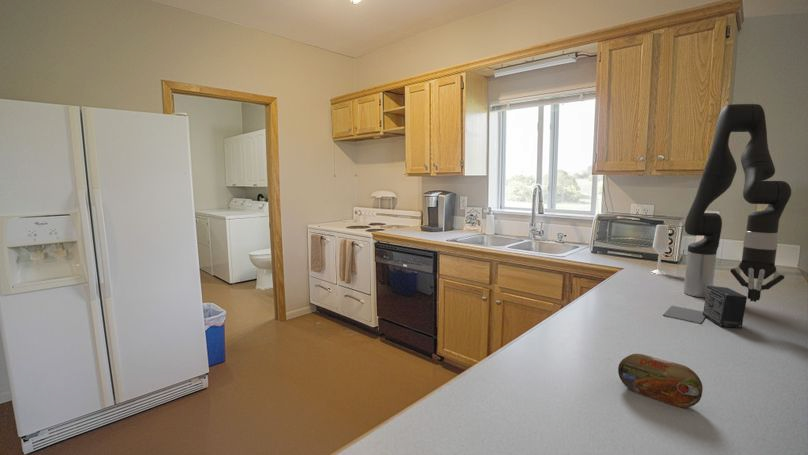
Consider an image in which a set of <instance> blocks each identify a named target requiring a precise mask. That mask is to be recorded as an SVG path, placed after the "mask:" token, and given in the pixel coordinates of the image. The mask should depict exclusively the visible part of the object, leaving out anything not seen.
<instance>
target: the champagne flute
mask: <svg viewBox="0 0 808 455" xmlns="http://www.w3.org/2000/svg"><path fill="white" fill-rule="evenodd" d="M653 236H654V238H653V242H652V249H653V251H654V252H655V253H656V254H657V255H658V256H657V257H658V258H657V266H656V268H657V269H655V270H651V272H653V273H656V274H655V275H658V274H665V272H664V271H663V270H661V262H662V255H663V254H665V253H666V252H667V251H669V249H670V248H669V247H670V246H669V245H670V243H669V242H670V241H669V237H670V236H669V225H668V224H656V226H655V232H654V235H653ZM653 273H652V274H653Z"/></svg>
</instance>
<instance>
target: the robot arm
mask: <svg viewBox="0 0 808 455" xmlns="http://www.w3.org/2000/svg"><path fill="white" fill-rule="evenodd" d="M765 114H766V113H765V110H764V108H763V106H762V105H761V104H757V103H736V104H735V103H734V104H727V105H725V106H724V107H723V108H722V109H721V111H720V113H719V116H718V119H717V121H716V122H717V123H716V126H715V132H714V135H713V140H712V145H711V148H710V150H709V151H710V152H709V155H708V158H707V160H706V163H705V165H704V168H703V171H702V175H701V177H700V183H699V186H698V188H697V191H696V194H695V196H694V200H693V201H692V204H691V206H690V208H689V211H688V213H687V215H686V218H685V221H684V231H685V233H686V234H687V235H688V236H689V235H690V236H698V237H699V236H701V237H703V238H702V239H700V240H698V241H696V242H692V243H690V244H689V245H688V246H687V252H686V253H687V254H686V255H687V256H686V263H685V264H686V265H685V273H684V286H683V293H684V294H686V295H689V296H692V297H698V298H706V293H707V286H714V282H715V281H714V280H715V270H716V261H717V251H718V249H719V246H720V240H721V239H720V238H721V234H722V229H723V221H722V220H723V219H722V216H721V215H720V213H716V212H706V210H707V209H708V207H709V206H710V205H711V204H712V203H713V202H714V201H715V200H716V199H718V198H719V197H721V196H722V195H723V194H724V193H725V192H726V191H727V190H729V188H730V187H731V186H732V184H733V182H734V178H735V176H736V173H737V170H738V169H737V164H736V161H735V158H734V156H733V154H732V152H731V149H730V146H729V140H730V136H731V133H748V134H749V135H750V139H749V141H748V142H747V144H746V145H745V147H744V149H743V150H742V152H741V155H740V163H741V166H742V170H743V174H744V185H743V190H742V197H743V199H744V200H745V201H746V202H747V203H749V204H751V205H767V207H766V208H765V209H763V210H761V211H753V212H751V213H749V214H748V215H747V220H746V221H747V223H746V231H745V235H744V239H743V243H742V244H743V246H742V248H743V249H742V254H741V255H742V256H741V262H740V263H739V265H738V266H736V267H732V268H730V272H729V273H731V274H732V276H734V278H735V279H736V280H737V282H738V283H739V285H741V286H742V287H745V288H746V289H748V290H747V300H749V301H750V302H755V303H756V302H757V301H760V299H761V294H762V293H761V292H762V291H764V290H770V289H771V288H773V287H774V286H775V285H777V284H778V283H780V282H781V281H782V280H784V279H785V274H783V273H781V272H780V271H778V270H777V267H776V258H777V257H776V256H777V248H778V243H779V242H778V240H779V239H778V232H779V225H780V224H779V223H780V220H781V219H780V218H781V216H782V215H783V212H784V210H785V209H786V207H787V204H788V202H789V201H790V198H791V195H792V188H791V186H790V184H789V183H788V182H786V181H783V180H769V179H771V178H772V177H774V175H775V174H776V168H775V164H774V161H773V159H772V157H771V153H770V149H769V144H768V132H767V130H768V129H767V121H766V115H765ZM741 271H742V273H743V275H745V276H746V277H747V278H748V280H747V281H746V280H745V278H744V277H743V276H742V275H741ZM771 276H772V279H771V280H770V281H767V283H765V284H763V283H764V280H766V279H768V278H769V277H771ZM755 279H757V281H756V285H755Z"/></svg>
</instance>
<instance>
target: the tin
mask: <svg viewBox="0 0 808 455" xmlns="http://www.w3.org/2000/svg"><path fill="white" fill-rule="evenodd" d="M617 374H618V376H619V379H620V380H621V382H622V384H623V385H624V386H625V387H626V389H628V390H630V391H631V392H633V393H635V394H638V395H642V396H644V397H647V398H650V399H653V400H656V401H659V402H662V403H665V404H668V405H671V406H673V407H677V408H691V407H693V406H695V405H697V404H698V403H699V402H700V401H701V399H702V396H703V390H704V388H703V387H704V386H703V382H702V381H701V379H700V377H699V375H698V374H697V373H696V372H695V371H693V370H692V369H691V368H690V367H687V366H686V365H683V364H680V363H676V362H673V361H668V360H665V359H661V358H657V357H653V356H651V355H648V354H647V355H646V354H643V353H632V354H630V355H629V354H628V355H627V356H626V357H624V358H623V359H621V361H620V362H619V364H618V367H617Z"/></svg>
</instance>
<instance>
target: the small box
mask: <svg viewBox="0 0 808 455" xmlns="http://www.w3.org/2000/svg"><path fill="white" fill-rule="evenodd" d="M704 300H705V301H704V305H703V310H702V311H703V315H704V316H705V318H707V319H708V320H710V321H712V322H713V323H715V324H716V325H718V326H720V327H727V328H728V327H729V328H736V329H737V328H738V329H742V328H743V322H744V318H745V317H744V316H745V313H746V312H745V310H746V305H747V300H748V296H746V295H744V294H741V293H739V292H737V291H735V290H733V289H731V288H729V287H723V286H715V285H713V286H707V293H706V297H705V299H704Z"/></svg>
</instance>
